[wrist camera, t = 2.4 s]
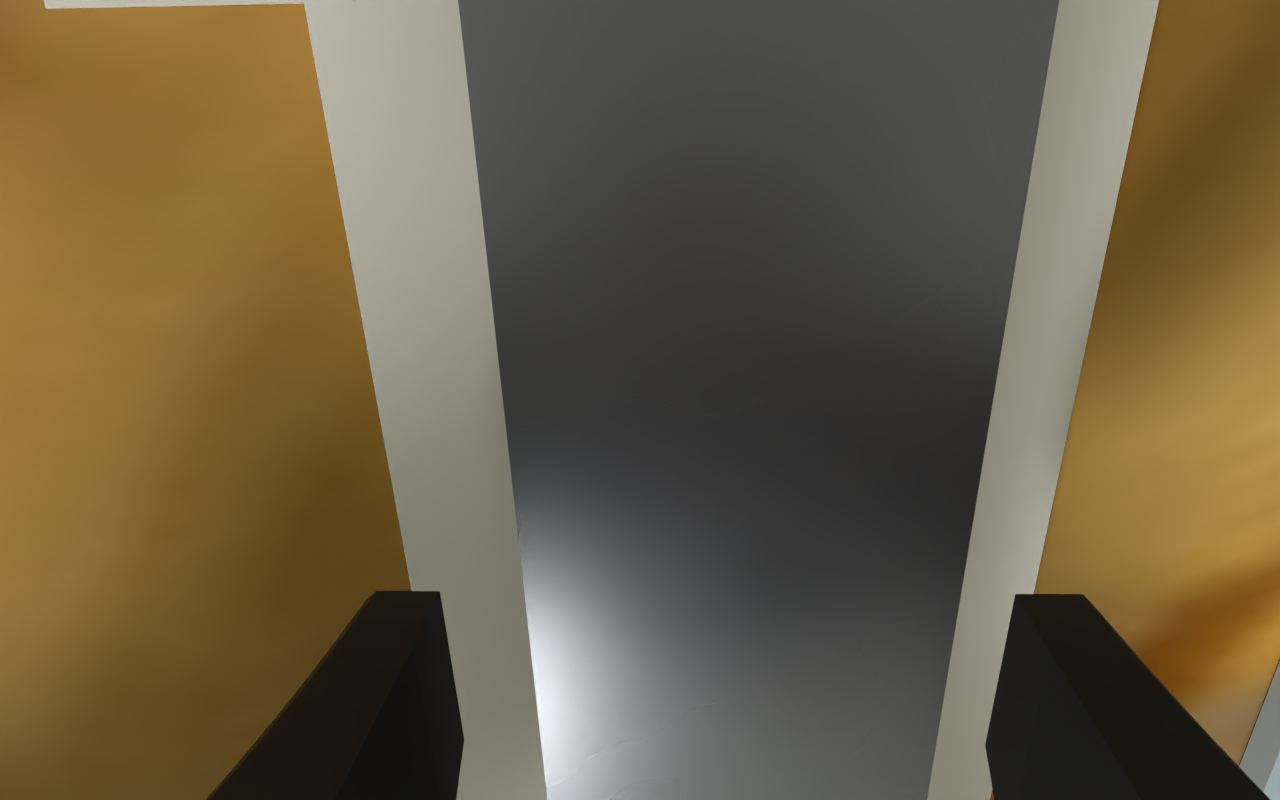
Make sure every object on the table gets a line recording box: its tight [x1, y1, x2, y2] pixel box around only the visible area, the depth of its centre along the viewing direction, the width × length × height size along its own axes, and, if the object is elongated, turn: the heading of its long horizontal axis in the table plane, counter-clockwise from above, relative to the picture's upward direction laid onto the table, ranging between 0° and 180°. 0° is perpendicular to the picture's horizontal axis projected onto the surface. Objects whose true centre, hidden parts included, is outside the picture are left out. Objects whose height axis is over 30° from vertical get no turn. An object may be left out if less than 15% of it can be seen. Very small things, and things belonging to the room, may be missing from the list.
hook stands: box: [43, 0, 1159, 800], centre depth 10 cm, size 7×20×6 cm, turn 2°
